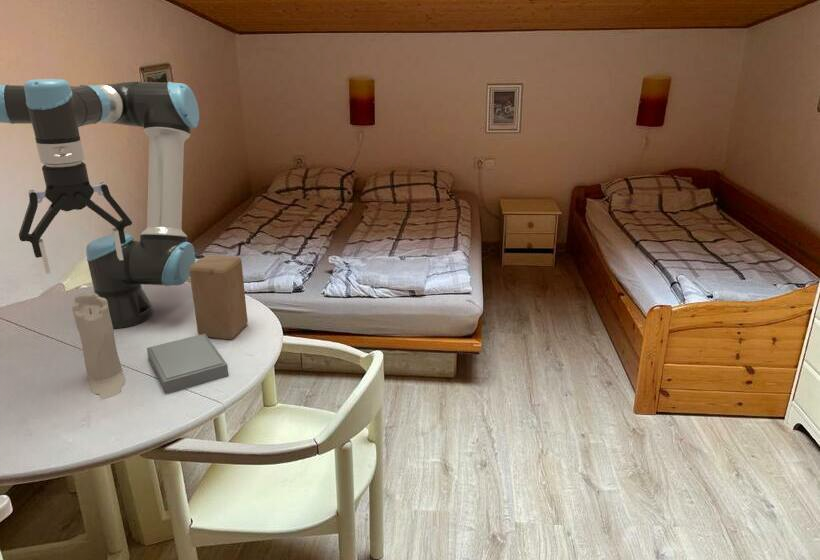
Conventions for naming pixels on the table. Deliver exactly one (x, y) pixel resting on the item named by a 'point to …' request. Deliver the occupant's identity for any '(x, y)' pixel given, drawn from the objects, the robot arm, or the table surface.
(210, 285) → the wooden block
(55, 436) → the table surface
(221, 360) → the grey flat block
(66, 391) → the table surface
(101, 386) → the candle
